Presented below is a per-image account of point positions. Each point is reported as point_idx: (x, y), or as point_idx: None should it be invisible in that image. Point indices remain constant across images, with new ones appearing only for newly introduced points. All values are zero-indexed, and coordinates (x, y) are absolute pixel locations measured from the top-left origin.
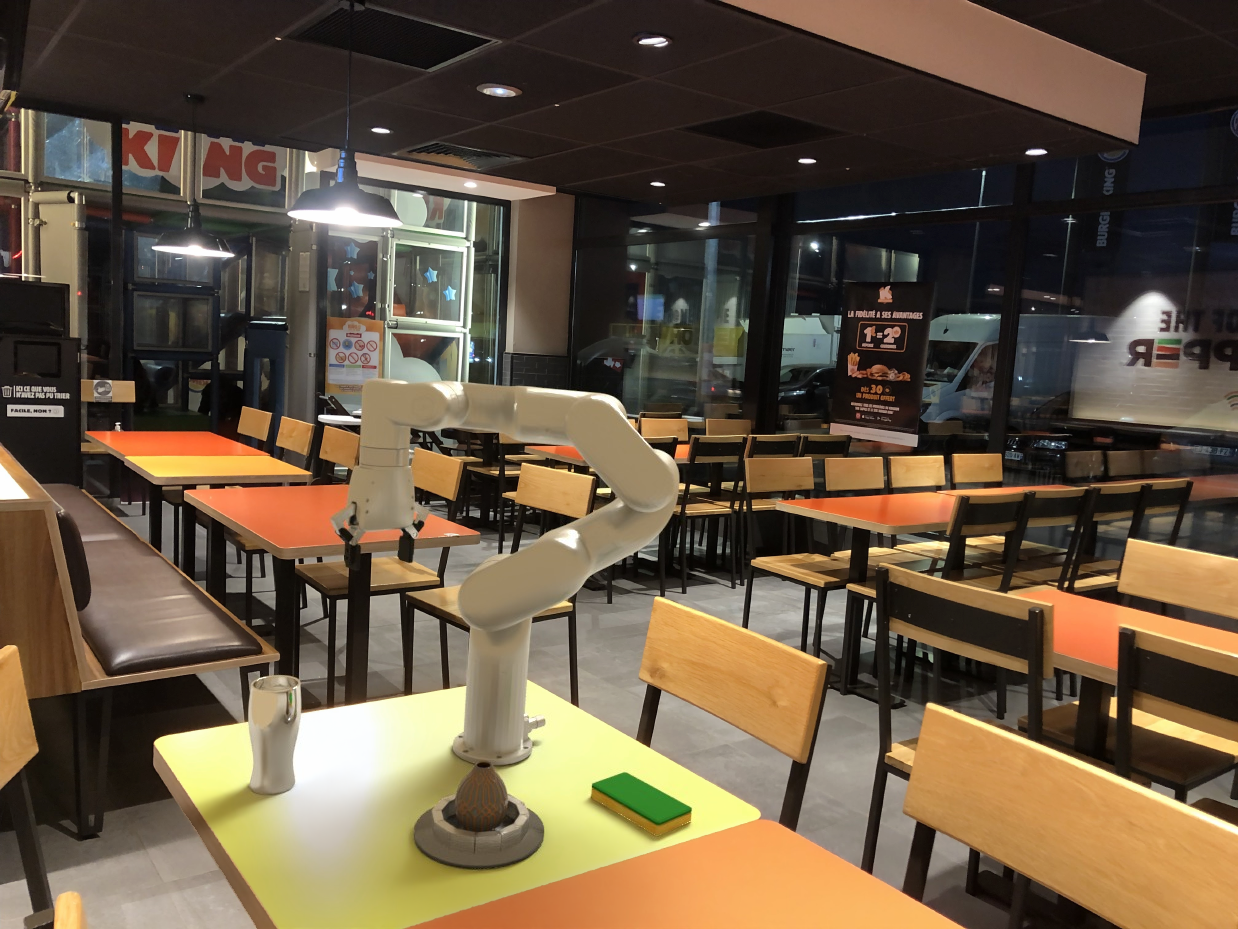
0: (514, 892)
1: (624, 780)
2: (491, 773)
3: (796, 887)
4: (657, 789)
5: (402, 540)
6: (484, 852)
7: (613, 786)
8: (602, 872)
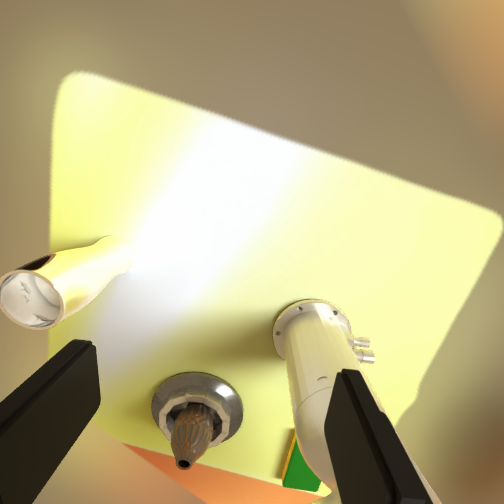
0: (170, 454)
1: None
2: (185, 466)
3: None
4: None
5: (370, 496)
6: None
7: None
8: (223, 473)
